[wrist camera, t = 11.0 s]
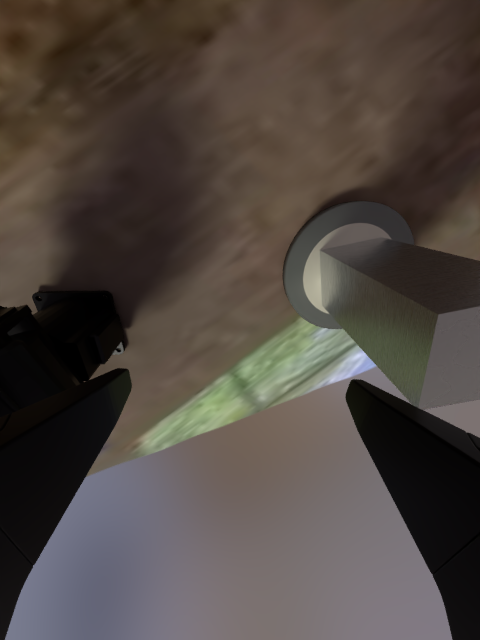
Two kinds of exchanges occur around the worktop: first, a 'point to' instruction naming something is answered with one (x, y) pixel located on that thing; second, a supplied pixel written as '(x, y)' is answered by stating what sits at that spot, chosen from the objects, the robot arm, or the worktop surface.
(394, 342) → the block
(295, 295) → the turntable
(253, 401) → the worktop surface
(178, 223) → the worktop surface
